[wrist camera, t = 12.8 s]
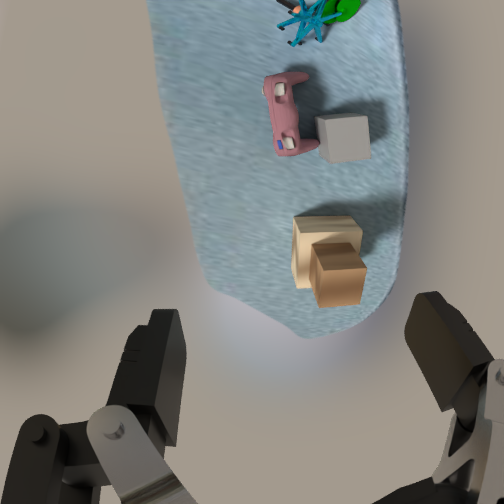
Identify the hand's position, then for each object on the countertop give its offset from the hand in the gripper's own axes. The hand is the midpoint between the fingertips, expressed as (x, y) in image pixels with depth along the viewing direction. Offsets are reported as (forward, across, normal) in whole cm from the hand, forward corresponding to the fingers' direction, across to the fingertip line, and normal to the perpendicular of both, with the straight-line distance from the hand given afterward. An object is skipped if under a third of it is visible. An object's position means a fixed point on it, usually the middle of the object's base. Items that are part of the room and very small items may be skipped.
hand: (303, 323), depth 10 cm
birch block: (+30, -9, +13) cm, 34 cm away
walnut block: (+25, -9, +13) cm, 30 cm away
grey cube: (+30, -10, -2) cm, 32 cm away
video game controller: (+30, -4, -5) cm, 31 cm away
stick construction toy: (+30, -7, -18) cm, 36 cm away
